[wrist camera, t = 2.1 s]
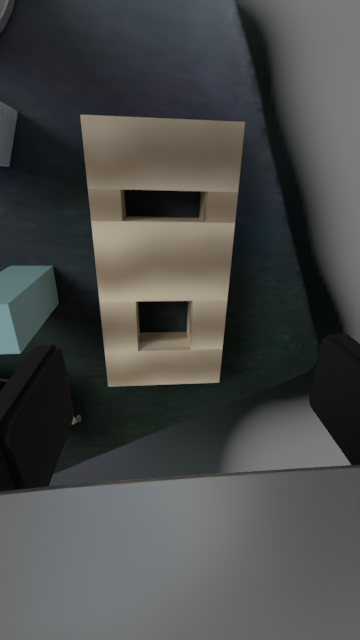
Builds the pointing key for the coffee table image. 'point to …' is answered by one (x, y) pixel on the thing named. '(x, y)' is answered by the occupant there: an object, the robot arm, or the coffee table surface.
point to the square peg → (24, 304)
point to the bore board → (162, 241)
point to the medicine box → (6, 133)
